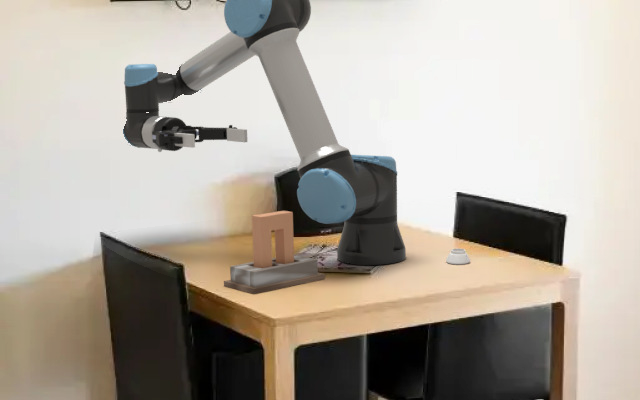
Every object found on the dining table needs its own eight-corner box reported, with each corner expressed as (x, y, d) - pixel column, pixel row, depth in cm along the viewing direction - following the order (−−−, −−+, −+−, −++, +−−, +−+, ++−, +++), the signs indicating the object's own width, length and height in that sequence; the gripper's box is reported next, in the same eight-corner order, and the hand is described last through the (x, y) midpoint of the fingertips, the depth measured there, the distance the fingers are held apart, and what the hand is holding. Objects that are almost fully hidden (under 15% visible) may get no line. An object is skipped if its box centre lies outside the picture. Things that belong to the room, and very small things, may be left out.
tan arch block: (254, 279, 213) (251, 215, 211) (285, 273, 218) (283, 210, 216) (263, 281, 211) (261, 217, 209) (294, 275, 216) (292, 212, 214)
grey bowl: (442, 262, 231) (453, 266, 226) (442, 248, 230) (453, 253, 226) (462, 260, 232) (474, 264, 228) (462, 246, 232) (474, 250, 227)
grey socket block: (223, 285, 213) (223, 266, 212) (293, 271, 224) (293, 253, 224) (254, 294, 205) (253, 273, 205) (324, 278, 217) (324, 259, 216)
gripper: (211, 145, 250) (267, 151, 234) (118, 154, 234) (170, 161, 218) (210, 113, 249) (266, 116, 233) (116, 120, 233) (169, 124, 217)
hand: (220, 138), depth 226 cm, fingers open, 13 cm apart
